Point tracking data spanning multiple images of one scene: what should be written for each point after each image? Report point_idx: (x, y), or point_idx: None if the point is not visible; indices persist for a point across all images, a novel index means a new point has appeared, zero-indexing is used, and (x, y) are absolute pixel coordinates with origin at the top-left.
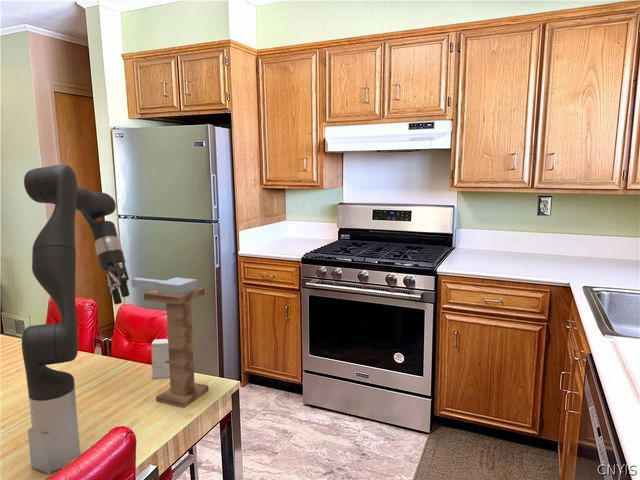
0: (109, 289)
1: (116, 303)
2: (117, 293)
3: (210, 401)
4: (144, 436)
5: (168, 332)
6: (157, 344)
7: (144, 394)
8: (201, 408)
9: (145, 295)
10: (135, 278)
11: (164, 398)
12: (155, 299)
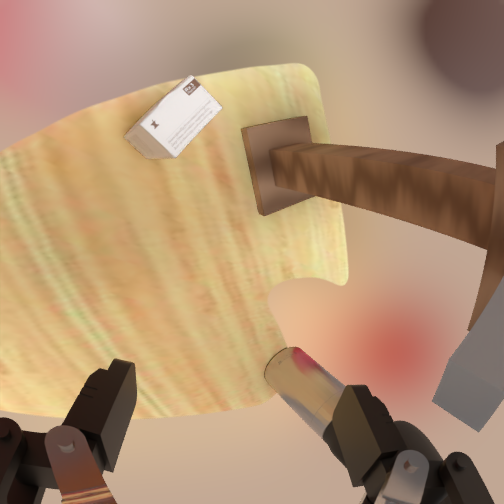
0: (39, 495)
1: (134, 393)
2: (108, 439)
3: None
4: (324, 275)
5: (398, 217)
6: (190, 140)
7: (212, 216)
8: None
9: None
10: (498, 404)
11: (283, 207)
12: None
